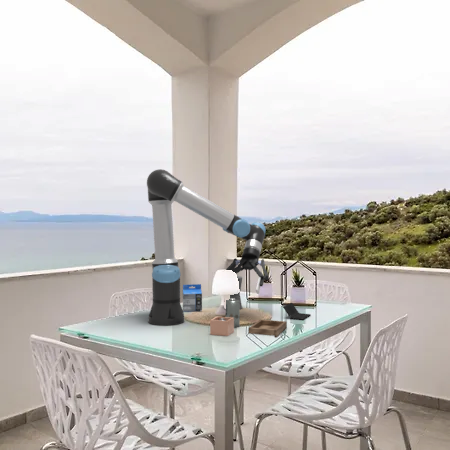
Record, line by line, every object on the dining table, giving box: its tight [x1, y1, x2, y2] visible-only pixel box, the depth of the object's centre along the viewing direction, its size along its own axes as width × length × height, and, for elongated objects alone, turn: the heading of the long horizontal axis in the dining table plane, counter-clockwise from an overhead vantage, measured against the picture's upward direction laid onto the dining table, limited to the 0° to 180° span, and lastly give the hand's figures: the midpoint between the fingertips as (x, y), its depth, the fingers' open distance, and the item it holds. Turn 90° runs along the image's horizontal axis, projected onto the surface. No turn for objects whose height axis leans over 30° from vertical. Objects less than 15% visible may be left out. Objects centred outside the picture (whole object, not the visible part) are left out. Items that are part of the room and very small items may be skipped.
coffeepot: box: [230, 275, 243, 310], centre depth 249 cm, size 15×9×18 cm, turn 27°
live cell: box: [225, 298, 241, 329], centre depth 208 cm, size 6×6×12 cm
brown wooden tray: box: [247, 319, 288, 338], centre depth 202 cm, size 11×16×3 cm
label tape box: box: [182, 283, 203, 313], centre depth 242 cm, size 9×4×12 cm, turn 97°
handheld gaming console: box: [283, 302, 311, 321], centre depth 229 cm, size 12×7×10 cm
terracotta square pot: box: [209, 315, 235, 337], centre depth 197 cm, size 7×7×6 cm
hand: (241, 291), depth 217 cm, fingers open, 13 cm apart
